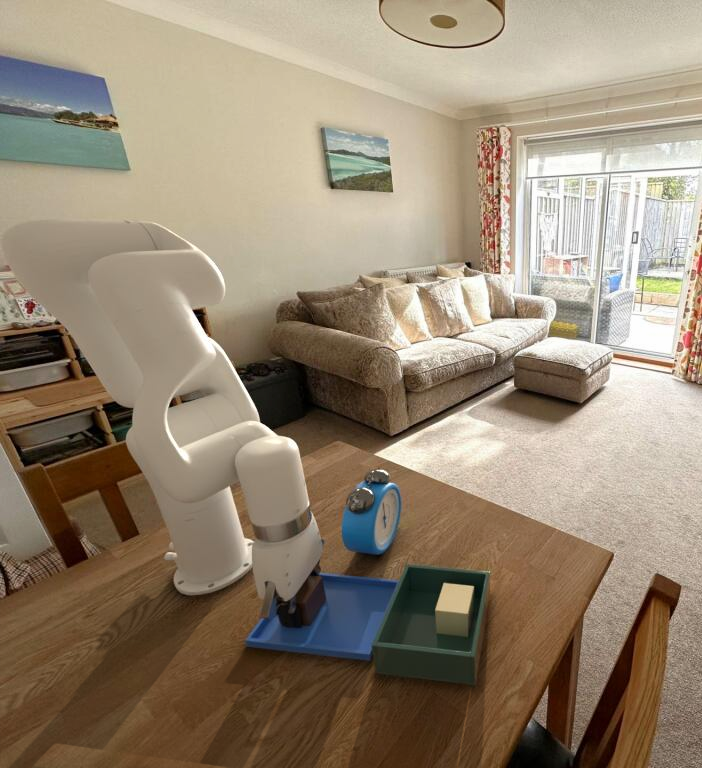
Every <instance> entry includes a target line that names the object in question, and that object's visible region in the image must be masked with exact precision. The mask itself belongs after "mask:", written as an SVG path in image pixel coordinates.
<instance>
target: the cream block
mask: <svg viewBox="0 0 702 768" xmlns="http://www.w3.org/2000/svg"><path fill="white" fill-rule="evenodd" d="M473 613H474V586H467V585H457V584H448V583H444V584H443V587H442V590H441V593H440V596H439V600H438V603H437V606H436V609H435V616H436V631H437V633H438V634H446V635H455V636H463V637H468V636H469V632H470V627H471V622H472V618H473Z"/></svg>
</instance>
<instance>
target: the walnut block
mask: <svg viewBox="0 0 702 768" xmlns="http://www.w3.org/2000/svg"><path fill="white" fill-rule="evenodd" d="M325 600H326V594H325V589H324V584H323V579H322V577H320V576H310V575H309V576H308V577H307V579H306V580H305V582H304V583H303V584H302V586H301V587H300V589H299V590H298V591H297V593H296V606H298V607H299V608H300V612H301V616H302V620H303V626H310V625H311V624H312V622H313V620H314V619H315V617H316V615H317V614H318V612H319V610H320V609H321V607H322V605H323V604H324V602H325ZM282 603H288V601H286V602H285V601H284V599H283V598H282ZM278 618H279V622H280V623H281V620H280V616H279V615H278Z"/></svg>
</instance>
